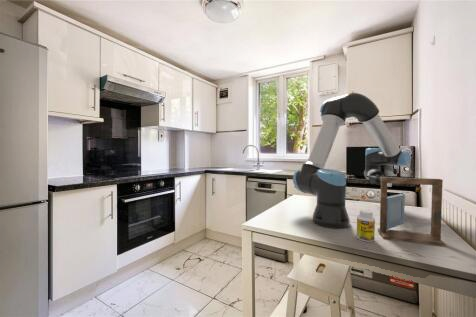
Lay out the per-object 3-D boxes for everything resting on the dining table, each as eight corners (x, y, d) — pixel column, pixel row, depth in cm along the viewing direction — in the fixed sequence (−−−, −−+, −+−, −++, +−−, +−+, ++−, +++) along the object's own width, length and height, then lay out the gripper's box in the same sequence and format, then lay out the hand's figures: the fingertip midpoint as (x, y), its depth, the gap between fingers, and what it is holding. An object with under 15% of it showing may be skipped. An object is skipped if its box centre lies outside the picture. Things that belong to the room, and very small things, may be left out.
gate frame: (382, 238, 78) (384, 178, 77) (377, 230, 85) (378, 175, 84) (445, 246, 71) (447, 180, 70) (433, 237, 79) (435, 177, 78)
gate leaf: (386, 229, 81) (387, 198, 80) (382, 228, 82) (383, 197, 82) (404, 223, 87) (404, 194, 87) (399, 222, 89) (400, 194, 88)
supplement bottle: (358, 241, 75) (359, 213, 75) (355, 235, 81) (355, 208, 80) (376, 243, 74) (377, 214, 73) (371, 237, 79) (372, 210, 78)
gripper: (390, 184, 115) (407, 192, 93) (362, 183, 119) (372, 191, 97) (390, 170, 114) (407, 175, 92) (363, 169, 119) (372, 174, 97)
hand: (389, 183), depth 95 cm, fingers closed
